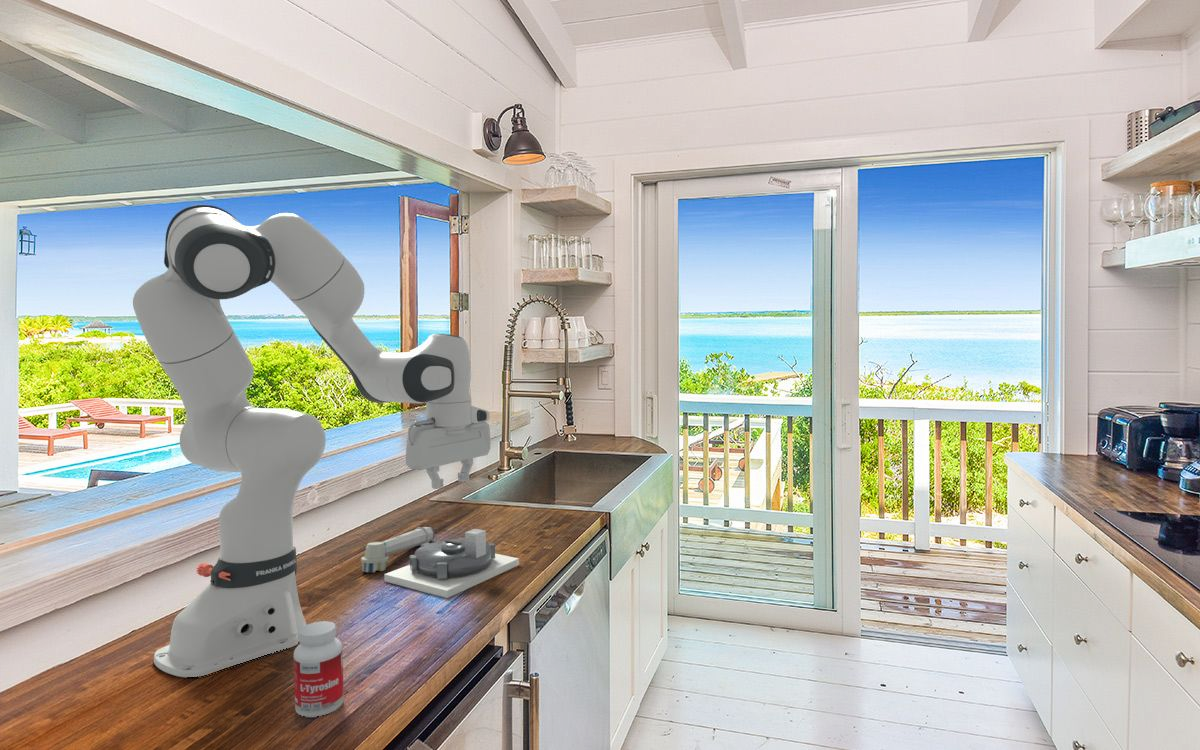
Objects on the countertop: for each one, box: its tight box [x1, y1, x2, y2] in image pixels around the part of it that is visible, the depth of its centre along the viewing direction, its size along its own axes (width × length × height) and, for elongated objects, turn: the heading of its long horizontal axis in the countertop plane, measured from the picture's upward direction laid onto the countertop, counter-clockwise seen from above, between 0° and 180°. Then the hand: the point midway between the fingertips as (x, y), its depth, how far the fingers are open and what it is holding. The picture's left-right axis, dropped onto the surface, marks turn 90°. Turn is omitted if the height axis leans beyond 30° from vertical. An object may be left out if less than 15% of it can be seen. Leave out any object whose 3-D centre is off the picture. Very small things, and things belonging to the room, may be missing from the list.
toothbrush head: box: [360, 526, 435, 573], centre depth 156 cm, size 5×7×25 cm
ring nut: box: [409, 528, 496, 579], centre depth 144 cm, size 17×17×8 cm
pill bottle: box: [293, 620, 345, 718], centre depth 92 cm, size 6×6×11 cm
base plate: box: [383, 553, 520, 599], centre depth 144 cm, size 22×18×2 cm
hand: (450, 484), depth 134 cm, fingers open, 6 cm apart
